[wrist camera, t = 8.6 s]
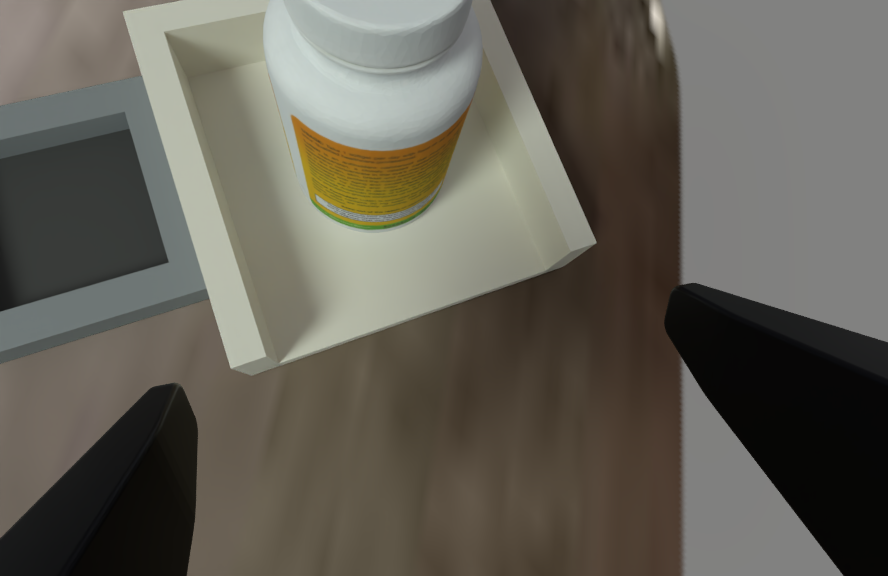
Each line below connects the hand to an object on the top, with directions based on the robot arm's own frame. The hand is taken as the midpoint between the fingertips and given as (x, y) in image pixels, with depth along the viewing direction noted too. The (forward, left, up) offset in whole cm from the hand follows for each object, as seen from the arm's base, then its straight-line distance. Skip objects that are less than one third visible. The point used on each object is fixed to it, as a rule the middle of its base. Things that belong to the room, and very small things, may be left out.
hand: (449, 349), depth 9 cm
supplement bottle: (+8, -1, -9) cm, 12 cm away
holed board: (+9, +9, -9) cm, 16 cm away
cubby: (+8, -1, -9) cm, 12 cm away
